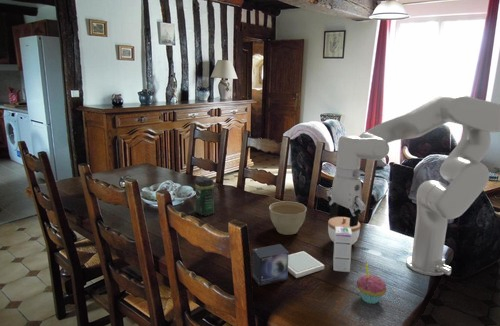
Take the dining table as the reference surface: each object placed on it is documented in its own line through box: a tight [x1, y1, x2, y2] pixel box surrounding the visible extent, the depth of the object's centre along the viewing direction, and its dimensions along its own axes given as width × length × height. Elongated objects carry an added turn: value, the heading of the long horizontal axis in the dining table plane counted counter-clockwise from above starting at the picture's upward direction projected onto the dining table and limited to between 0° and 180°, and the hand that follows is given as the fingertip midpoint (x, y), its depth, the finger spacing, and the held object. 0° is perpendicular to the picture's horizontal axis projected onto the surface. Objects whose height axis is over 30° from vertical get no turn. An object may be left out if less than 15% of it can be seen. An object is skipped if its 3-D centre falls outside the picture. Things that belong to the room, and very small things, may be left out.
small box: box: [251, 243, 290, 287], centre depth 116 cm, size 11×6×10 cm, turn 114°
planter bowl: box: [268, 201, 307, 236], centre depth 153 cm, size 16×16×11 cm
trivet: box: [288, 250, 325, 279], centre depth 125 cm, size 12×12×2 cm
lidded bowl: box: [327, 216, 362, 246], centre depth 141 cm, size 13×13×11 cm
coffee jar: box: [194, 175, 215, 216], centre depth 173 cm, size 10×8×19 cm
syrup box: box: [332, 226, 352, 273], centre depth 123 cm, size 6×6×14 cm
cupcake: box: [356, 261, 387, 305], centre depth 105 cm, size 9×8×12 cm
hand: (343, 220), depth 120 cm, fingers open, 9 cm apart
